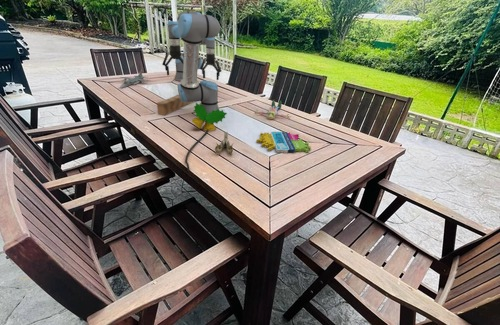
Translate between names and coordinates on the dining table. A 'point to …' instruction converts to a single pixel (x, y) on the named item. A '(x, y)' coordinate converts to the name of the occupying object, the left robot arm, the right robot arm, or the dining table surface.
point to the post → (170, 105)
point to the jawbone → (224, 145)
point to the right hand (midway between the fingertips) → (177, 75)
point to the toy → (273, 111)
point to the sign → (283, 142)
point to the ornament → (207, 117)
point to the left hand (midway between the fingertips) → (210, 78)
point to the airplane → (133, 80)
